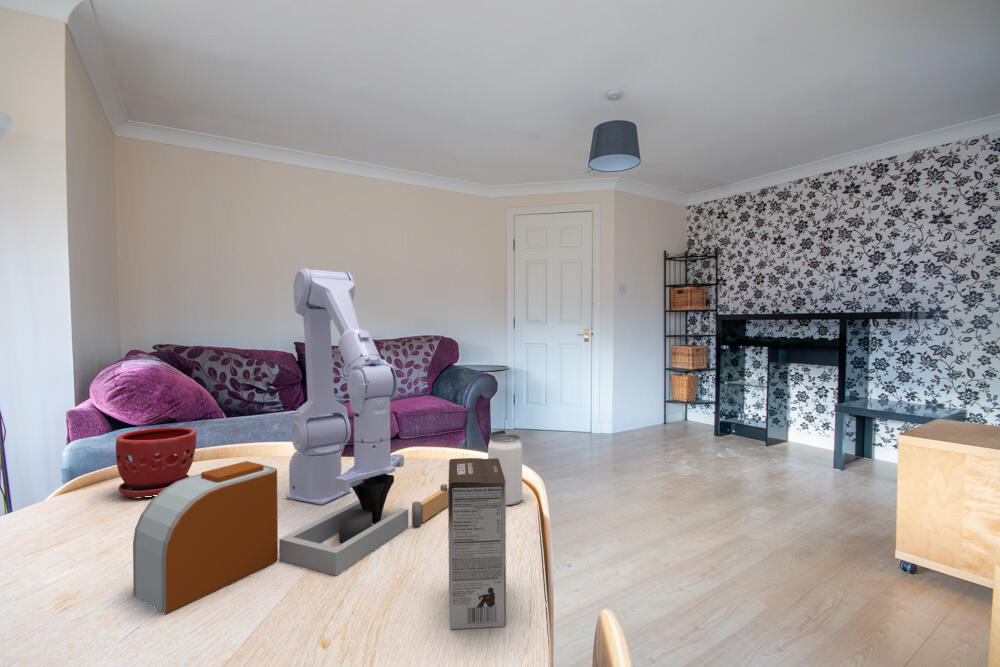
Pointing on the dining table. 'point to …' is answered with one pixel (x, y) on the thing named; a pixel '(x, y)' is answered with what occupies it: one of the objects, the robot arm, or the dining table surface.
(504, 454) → the can
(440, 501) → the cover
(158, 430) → the plant pot
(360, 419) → the robot arm
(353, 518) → the dark grey cylinder
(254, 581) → the dining table surface
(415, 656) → the dining table surface
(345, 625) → the dining table surface
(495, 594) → the coffee box
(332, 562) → the grey frame
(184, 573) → the grey and orange block
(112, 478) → the dining table surface
